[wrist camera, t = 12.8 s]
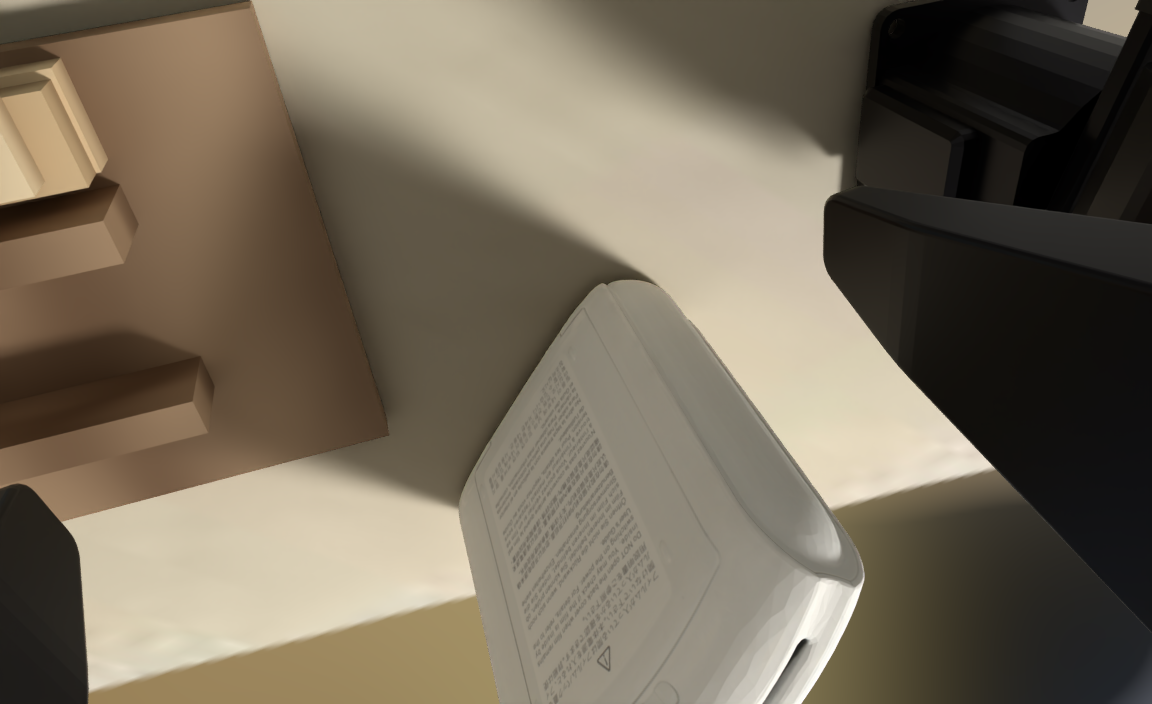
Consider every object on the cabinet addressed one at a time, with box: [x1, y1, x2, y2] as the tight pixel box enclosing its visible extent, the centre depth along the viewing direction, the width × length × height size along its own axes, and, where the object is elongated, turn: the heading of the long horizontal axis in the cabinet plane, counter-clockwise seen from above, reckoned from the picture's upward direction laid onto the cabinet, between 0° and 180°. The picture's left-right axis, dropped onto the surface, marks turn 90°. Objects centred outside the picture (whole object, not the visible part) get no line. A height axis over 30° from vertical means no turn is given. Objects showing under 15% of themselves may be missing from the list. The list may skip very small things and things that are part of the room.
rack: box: [0, 1, 389, 522], centre depth 19 cm, size 11×12×4 cm
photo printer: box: [459, 280, 864, 704], centre depth 22 cm, size 10×4×12 cm, turn 148°
